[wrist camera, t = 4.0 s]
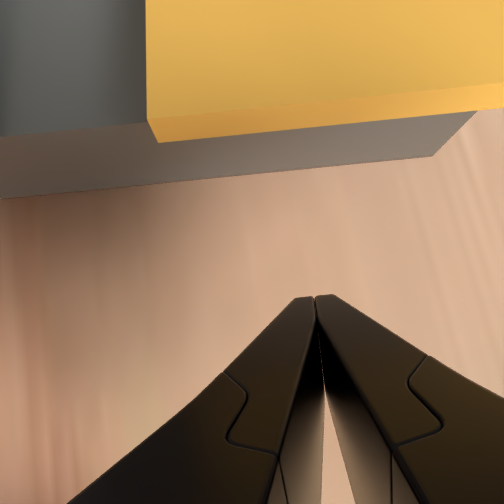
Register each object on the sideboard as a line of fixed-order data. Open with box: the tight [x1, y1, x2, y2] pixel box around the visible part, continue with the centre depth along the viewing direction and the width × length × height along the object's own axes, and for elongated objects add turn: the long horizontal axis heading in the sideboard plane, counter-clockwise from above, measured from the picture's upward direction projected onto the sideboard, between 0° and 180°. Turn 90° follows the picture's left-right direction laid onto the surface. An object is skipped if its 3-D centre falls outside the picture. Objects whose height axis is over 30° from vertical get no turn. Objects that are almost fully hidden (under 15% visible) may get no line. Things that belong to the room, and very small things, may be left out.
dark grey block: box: [0, 0, 478, 199], centre depth 20 cm, size 9×30×8 cm, turn 95°
